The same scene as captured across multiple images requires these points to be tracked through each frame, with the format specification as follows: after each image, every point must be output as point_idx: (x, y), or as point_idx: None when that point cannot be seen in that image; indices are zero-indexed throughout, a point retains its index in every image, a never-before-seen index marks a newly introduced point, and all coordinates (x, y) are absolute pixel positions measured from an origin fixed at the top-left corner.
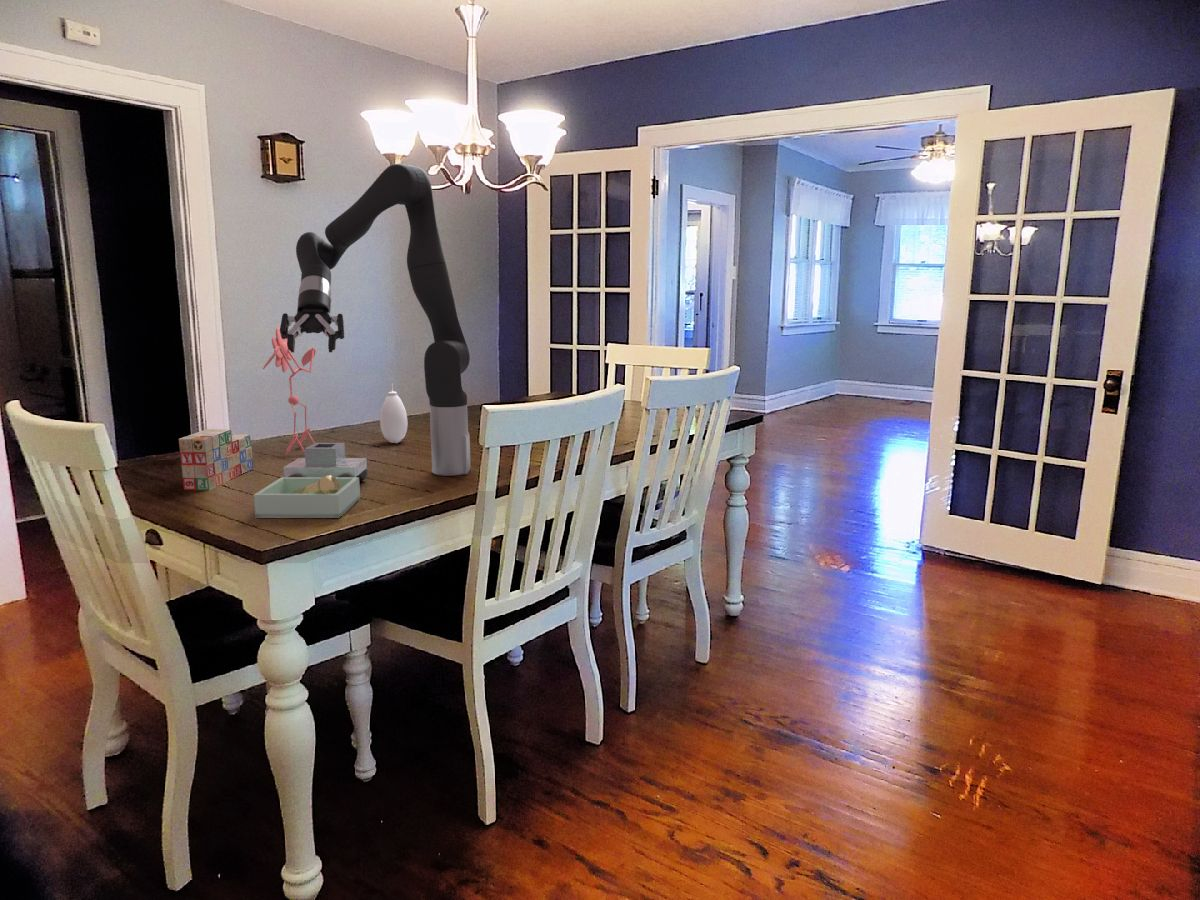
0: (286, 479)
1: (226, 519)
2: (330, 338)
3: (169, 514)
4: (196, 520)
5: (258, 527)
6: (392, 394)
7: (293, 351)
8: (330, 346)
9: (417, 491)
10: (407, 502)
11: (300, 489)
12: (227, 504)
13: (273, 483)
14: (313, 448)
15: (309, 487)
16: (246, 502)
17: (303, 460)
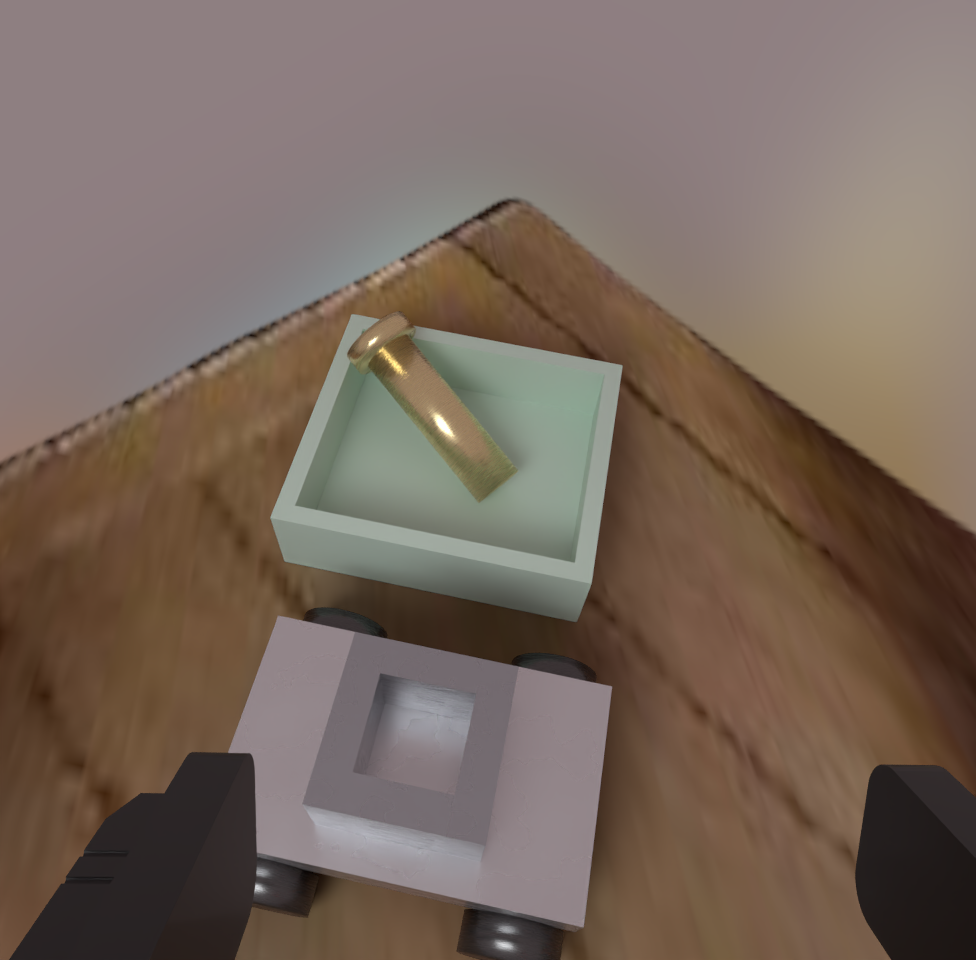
0: (565, 563)
1: (693, 428)
2: (138, 888)
3: (900, 513)
4: (779, 436)
5: (576, 343)
6: None
7: (862, 859)
8: (207, 755)
9: (39, 638)
10: (121, 491)
11: (487, 436)
12: (762, 596)
13: (597, 493)
14: (471, 661)
15: (450, 387)
16: (703, 610)
17: (544, 843)
